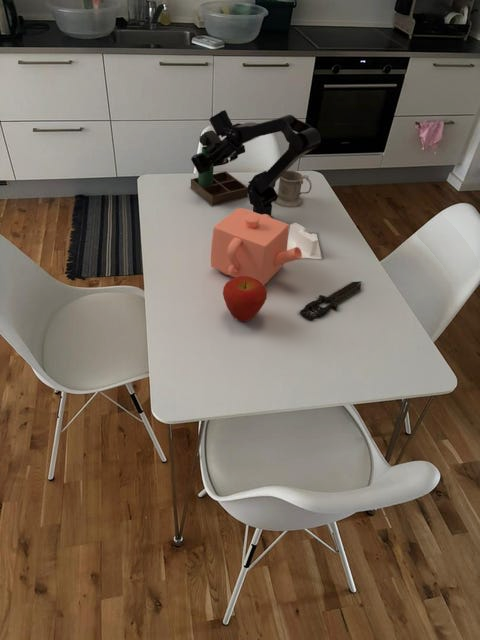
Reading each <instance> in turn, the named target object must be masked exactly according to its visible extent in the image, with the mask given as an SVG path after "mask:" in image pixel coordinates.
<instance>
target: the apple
mask: <svg viewBox="0 0 480 640" xmlns="http://www.w3.org/2000/svg"><path fill="white" fill-rule="evenodd" d="M267 294H268V292H267V288H266V285H263V284H262V283H261V282H259V281H258V280H256V279H254V278H251V277H248V276H238V277H233V278H232V279H230V280H228V281H226V282H225V284H224V286H223V289H222V296H223V299H224V303H225V306H226V308H227V310H228V312H229V313H230V315H231V316H232V317H233V318H234V319H236V320H237V321H240V322H247V321H250V320H252V319H254V318H255V317H256V316H257V314H259V312H260V311H261V309H262V308H263V306H264V305H265V303H266V300H267V298H268V297H267V296H268V295H267Z"/></svg>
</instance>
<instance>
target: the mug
mask: <svg viewBox="0 0 480 640" xmlns="http://www.w3.org/2000/svg"><path fill="white" fill-rule="evenodd" d="M304 179H305V180H307V181H308V182H309V189H308V191H302V185H303V184H304ZM277 190H278V192H277V195H278V198H277V200H276V201H275V203H276V204H278V205H280V206H282V207H287V208H292V207H294V208H295V207H298V206H300V205H301V204H302V199H301V195H302V194H305V195H306V194H309V193H310V192H311V190H312V182H311V179H310V176H309V175H307V174H302V173H300V172H299V171H296V170H287V171H286V172H285V173H284V174H283V175H282V176H281V177H280V178H279V182H278V189H277Z"/></svg>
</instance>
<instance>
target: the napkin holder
mask: <svg viewBox="0 0 480 640" xmlns="http://www.w3.org/2000/svg"><path fill="white" fill-rule="evenodd" d="M289 225H290V226H289V231H288V245H287V250H290V249H292V248H295V247H298V248H299V249H300V250H301V252H302V257H301V259H314V260H315V259H316V260H317V259H318V260H322V259H323V257H322V252H321V248H320V243H319V239H318V233H309V232H308V231H306V228H305V227H304V226H302V225H301V224H299V223H298V222H293V223H291V224H289Z"/></svg>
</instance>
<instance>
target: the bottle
mask: <svg viewBox="0 0 480 640" xmlns="http://www.w3.org/2000/svg"><path fill="white" fill-rule="evenodd" d="M208 149H209V148H208V147H207V146H201V153H203V154H204V155H205V157H206V158H209V157H208V155H209V154H210V153H208V151H207V150H208ZM210 162H211V161H210ZM214 167H215V166H214V164H212V165H211V167H210V170H209V171H207V172H204V173H202V174H199V173H198V172H197V178H198V184H199V185H200V186H201V187H205V186H209V185H213V174H214Z"/></svg>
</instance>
